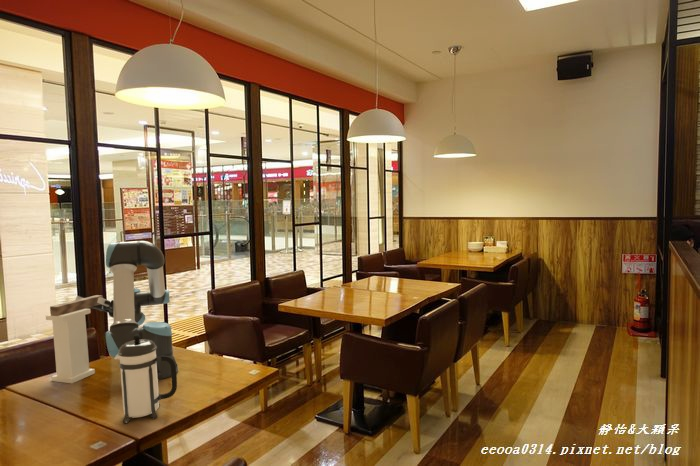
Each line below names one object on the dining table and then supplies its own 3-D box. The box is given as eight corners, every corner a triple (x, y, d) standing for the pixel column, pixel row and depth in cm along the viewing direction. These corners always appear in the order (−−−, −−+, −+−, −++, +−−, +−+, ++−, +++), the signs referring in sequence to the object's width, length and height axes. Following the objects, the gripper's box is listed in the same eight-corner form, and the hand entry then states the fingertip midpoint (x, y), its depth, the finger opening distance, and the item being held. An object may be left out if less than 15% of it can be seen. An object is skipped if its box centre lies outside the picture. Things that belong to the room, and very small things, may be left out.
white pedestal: (69, 384, 200) (64, 316, 198) (49, 381, 204) (43, 315, 202) (96, 372, 213) (91, 308, 211) (77, 370, 217) (72, 307, 215)
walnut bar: (57, 316, 199) (56, 307, 199) (50, 315, 200) (49, 306, 200) (103, 303, 222) (102, 295, 221) (96, 303, 223) (96, 295, 223)
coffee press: (137, 429, 158) (131, 343, 155) (110, 418, 166) (104, 337, 164) (179, 409, 172) (175, 330, 170) (153, 400, 181) (148, 325, 179)
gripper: (103, 303, 239) (70, 290, 221) (141, 305, 231) (110, 292, 213) (98, 317, 236) (64, 305, 218) (137, 320, 228) (105, 308, 210)
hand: (87, 299), depth 216 cm, fingers open, 13 cm apart
